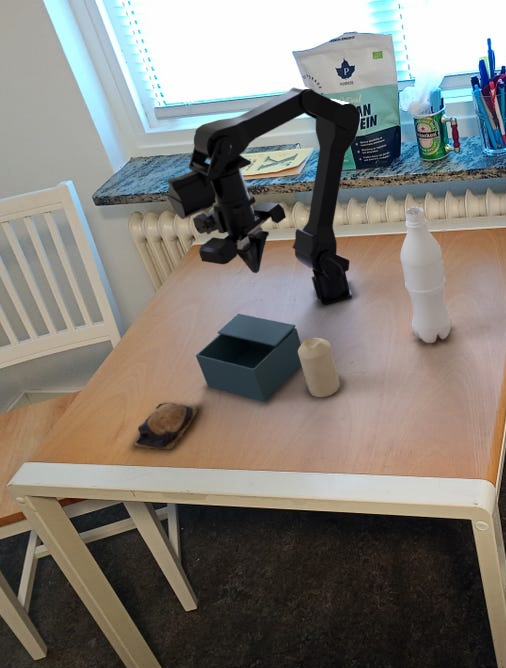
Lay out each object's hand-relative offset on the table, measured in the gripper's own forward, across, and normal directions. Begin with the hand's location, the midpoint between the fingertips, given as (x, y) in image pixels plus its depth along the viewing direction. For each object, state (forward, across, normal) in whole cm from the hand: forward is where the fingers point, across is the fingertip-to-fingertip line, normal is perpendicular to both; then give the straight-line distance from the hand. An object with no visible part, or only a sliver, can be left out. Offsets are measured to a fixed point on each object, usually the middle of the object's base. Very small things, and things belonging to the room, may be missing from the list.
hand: (255, 272), depth 138 cm
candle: (+13, +13, +21) cm, 28 cm away
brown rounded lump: (+13, +31, 0) cm, 34 cm away
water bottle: (+13, -7, +32) cm, 36 cm away
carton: (+13, +13, +6) cm, 20 cm away
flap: (+5, +10, +6) cm, 13 cm away
